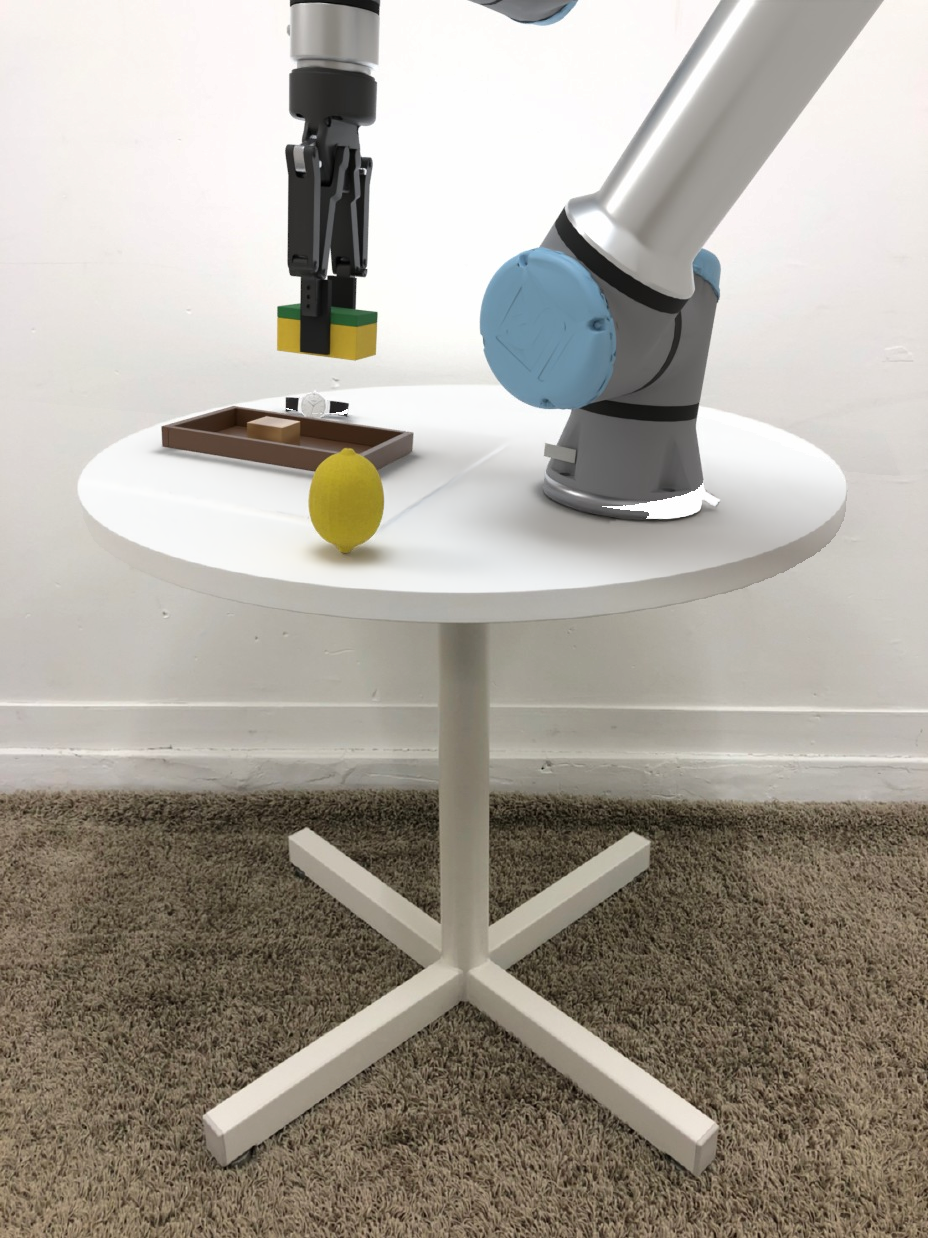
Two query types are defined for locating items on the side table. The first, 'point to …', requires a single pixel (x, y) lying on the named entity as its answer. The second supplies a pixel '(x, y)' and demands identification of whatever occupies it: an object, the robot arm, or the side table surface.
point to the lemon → (346, 500)
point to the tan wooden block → (275, 430)
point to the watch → (315, 405)
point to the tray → (317, 443)
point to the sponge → (332, 332)
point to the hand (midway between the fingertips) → (328, 349)
